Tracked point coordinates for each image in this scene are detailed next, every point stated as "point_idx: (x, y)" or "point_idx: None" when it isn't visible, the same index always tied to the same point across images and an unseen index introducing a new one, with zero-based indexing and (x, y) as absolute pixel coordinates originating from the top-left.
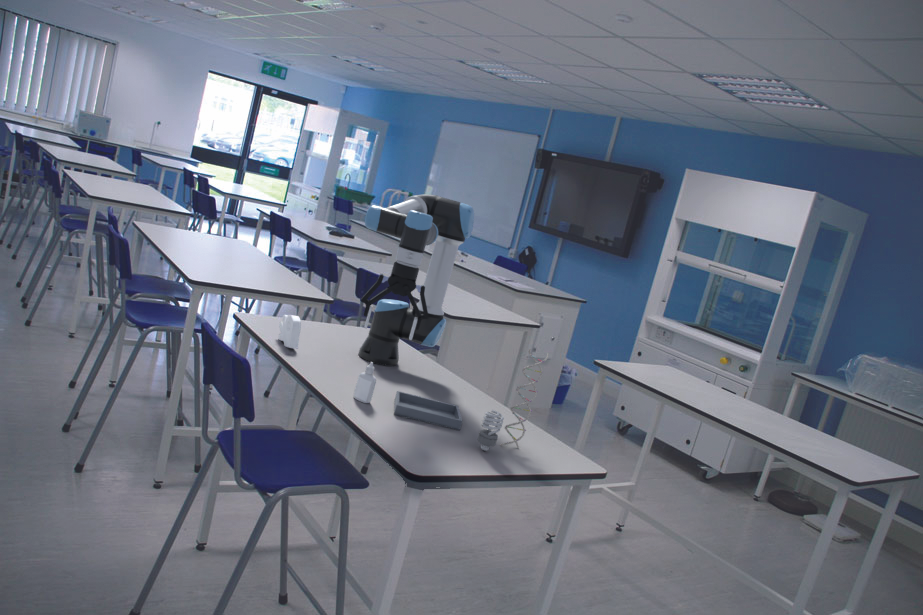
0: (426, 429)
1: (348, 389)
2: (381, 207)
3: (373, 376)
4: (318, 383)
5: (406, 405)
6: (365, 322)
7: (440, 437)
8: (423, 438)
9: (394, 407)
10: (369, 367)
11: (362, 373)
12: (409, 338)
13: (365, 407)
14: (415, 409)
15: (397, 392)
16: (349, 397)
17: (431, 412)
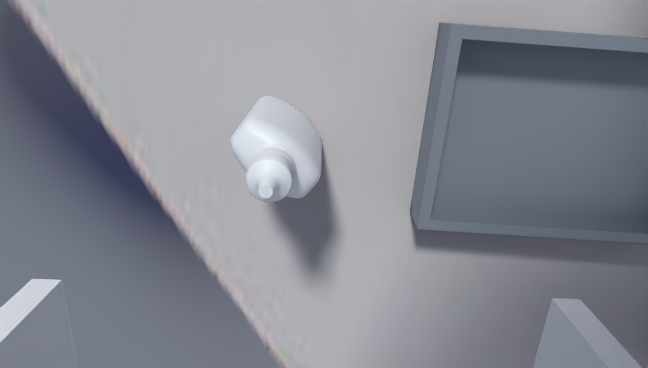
0: (513, 280)
1: (221, 20)
2: None
3: (300, 179)
4: (85, 31)
5: (482, 98)
6: (1, 314)
7: None
8: (482, 351)
9: (420, 152)
10: (262, 200)
11: (241, 162)
12: (538, 365)
13: (302, 200)
14: (495, 232)
15: (449, 52)
16: (235, 128)
17: (590, 118)
